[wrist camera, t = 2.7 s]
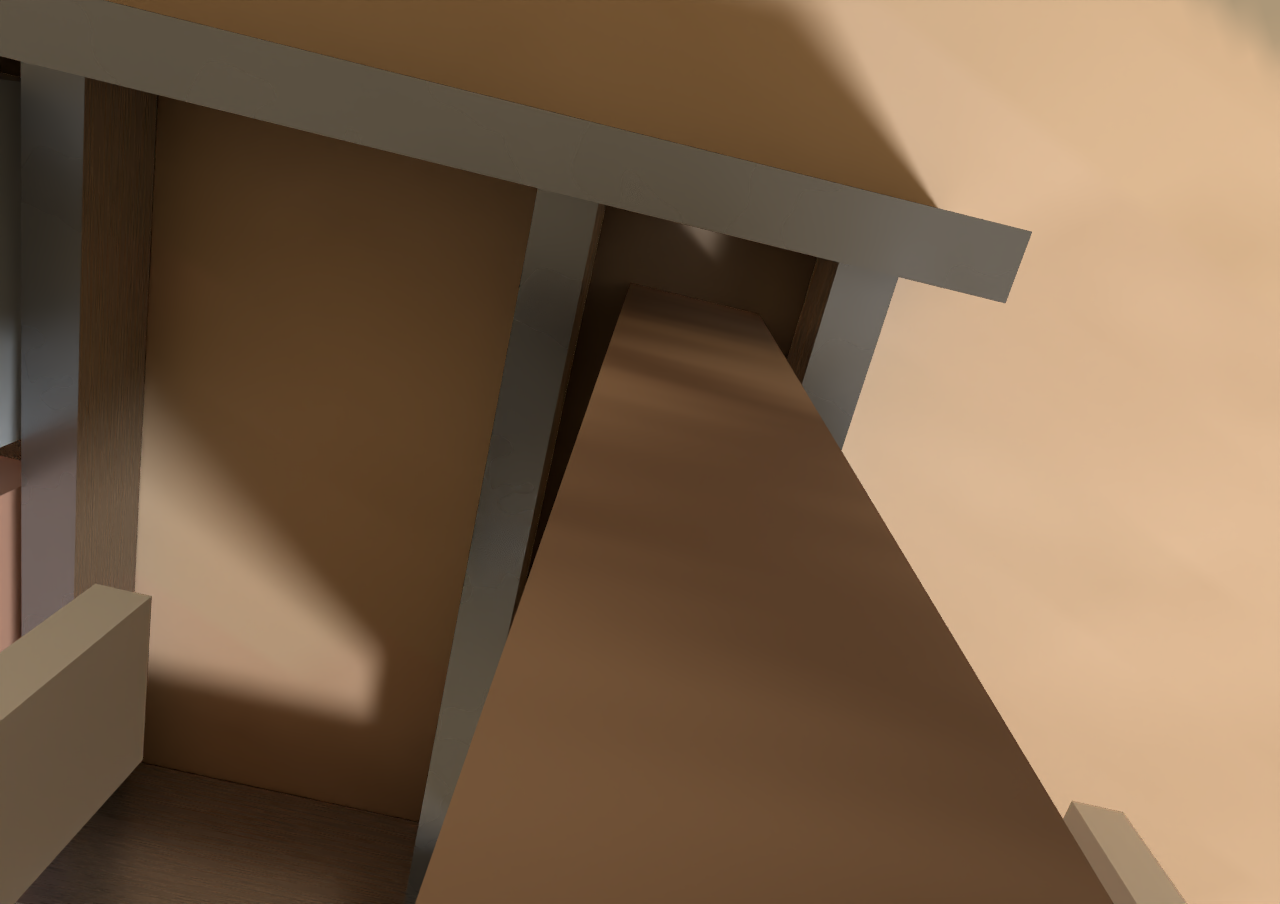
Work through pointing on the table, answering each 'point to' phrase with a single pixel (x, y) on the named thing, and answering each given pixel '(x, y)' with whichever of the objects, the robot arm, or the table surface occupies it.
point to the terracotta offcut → (10, 552)
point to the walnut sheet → (734, 671)
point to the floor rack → (526, 411)
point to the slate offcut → (10, 259)
